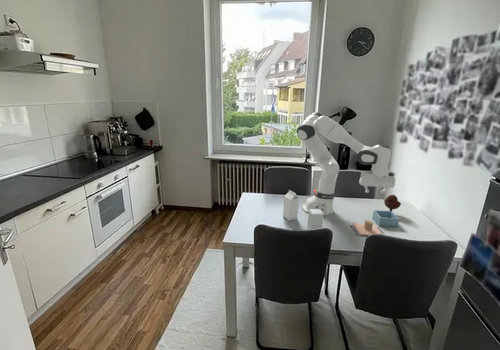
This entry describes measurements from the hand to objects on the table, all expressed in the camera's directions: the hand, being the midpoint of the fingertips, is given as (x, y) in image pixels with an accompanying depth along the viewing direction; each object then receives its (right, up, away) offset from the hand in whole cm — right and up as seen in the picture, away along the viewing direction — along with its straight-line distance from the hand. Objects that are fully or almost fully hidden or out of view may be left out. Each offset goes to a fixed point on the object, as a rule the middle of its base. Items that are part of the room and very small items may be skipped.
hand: (374, 192), depth 171 cm
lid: (-3, -24, +5) cm, 24 cm away
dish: (+14, -21, +17) cm, 31 cm away
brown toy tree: (+25, -17, +31) cm, 44 cm away
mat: (-2, -24, +5) cm, 25 cm away
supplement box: (-37, -24, +3) cm, 44 cm away
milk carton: (-50, -18, +18) cm, 56 cm away
